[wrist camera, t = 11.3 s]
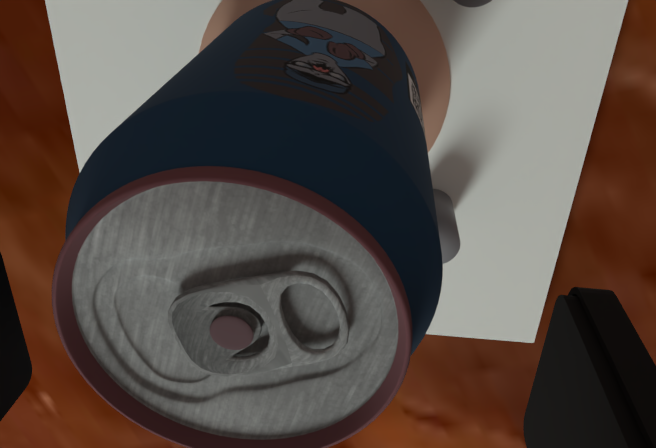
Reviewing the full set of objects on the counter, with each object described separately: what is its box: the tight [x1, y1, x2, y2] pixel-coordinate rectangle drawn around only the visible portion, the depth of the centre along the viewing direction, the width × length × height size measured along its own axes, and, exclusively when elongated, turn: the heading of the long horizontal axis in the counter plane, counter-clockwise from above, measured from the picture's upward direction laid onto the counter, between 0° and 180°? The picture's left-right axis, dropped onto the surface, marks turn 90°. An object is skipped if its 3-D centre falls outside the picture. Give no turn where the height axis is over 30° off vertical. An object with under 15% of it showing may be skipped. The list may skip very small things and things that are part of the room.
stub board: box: [45, 0, 628, 343], centre depth 19 cm, size 18×20×4 cm
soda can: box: [52, 0, 443, 448], centre depth 14 cm, size 7×7×12 cm
